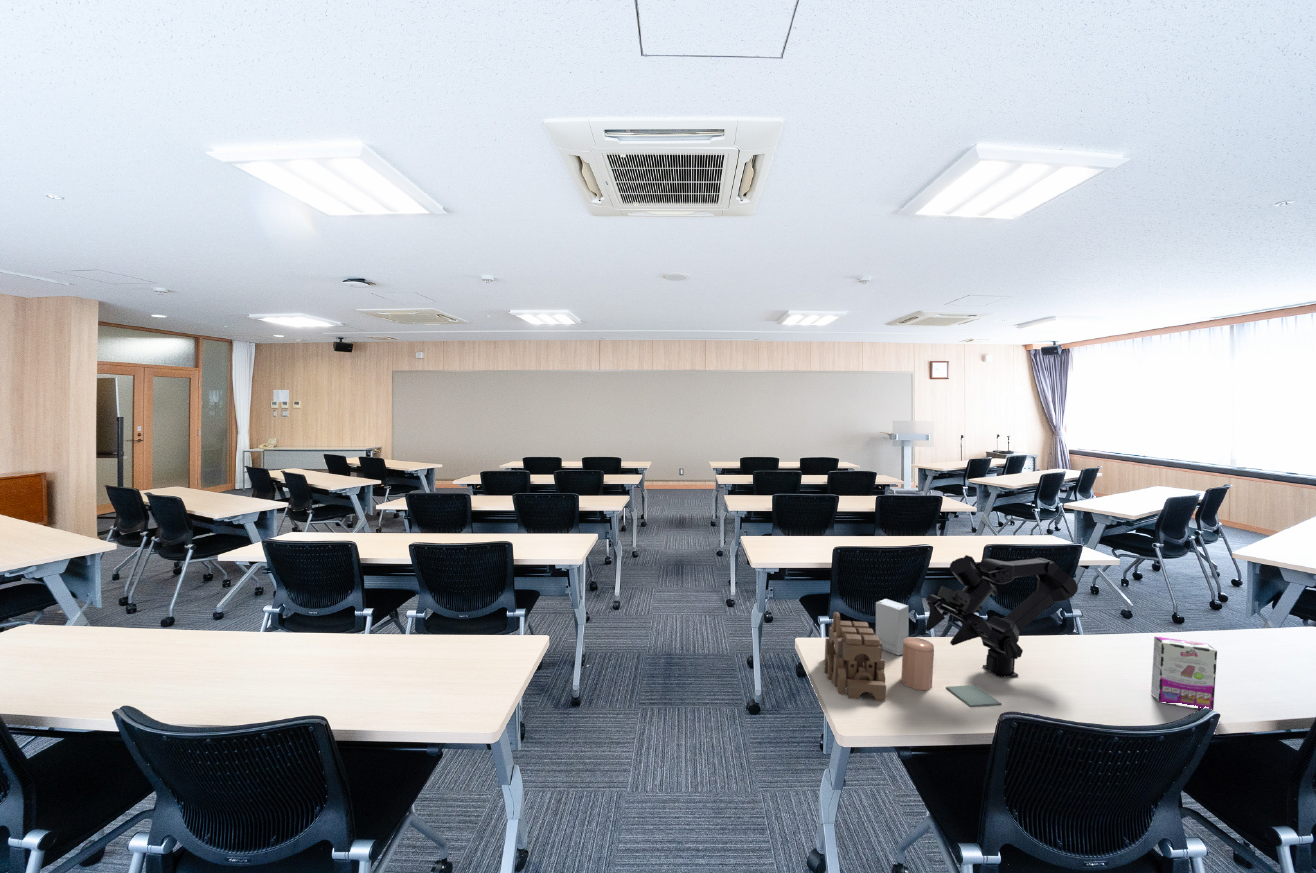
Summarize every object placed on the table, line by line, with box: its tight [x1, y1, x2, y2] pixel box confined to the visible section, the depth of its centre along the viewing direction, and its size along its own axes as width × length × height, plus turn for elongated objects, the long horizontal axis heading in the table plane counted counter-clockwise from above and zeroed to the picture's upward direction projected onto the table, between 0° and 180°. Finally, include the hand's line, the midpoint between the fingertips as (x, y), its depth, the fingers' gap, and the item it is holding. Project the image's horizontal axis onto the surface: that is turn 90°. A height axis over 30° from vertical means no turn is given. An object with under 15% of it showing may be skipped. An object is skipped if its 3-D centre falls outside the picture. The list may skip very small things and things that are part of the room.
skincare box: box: [875, 598, 910, 656], centre depth 166 cm, size 8×6×15 cm
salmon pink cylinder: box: [900, 636, 935, 691], centre depth 146 cm, size 8×8×11 cm
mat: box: [945, 684, 1002, 708], centre depth 140 cm, size 9×9×1 cm
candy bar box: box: [1150, 636, 1218, 711], centre depth 139 cm, size 11×5×16 cm, turn 68°
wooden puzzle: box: [823, 611, 887, 702], centre depth 147 cm, size 22×15×19 cm, turn 176°
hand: (938, 636), depth 147 cm, fingers open, 9 cm apart
